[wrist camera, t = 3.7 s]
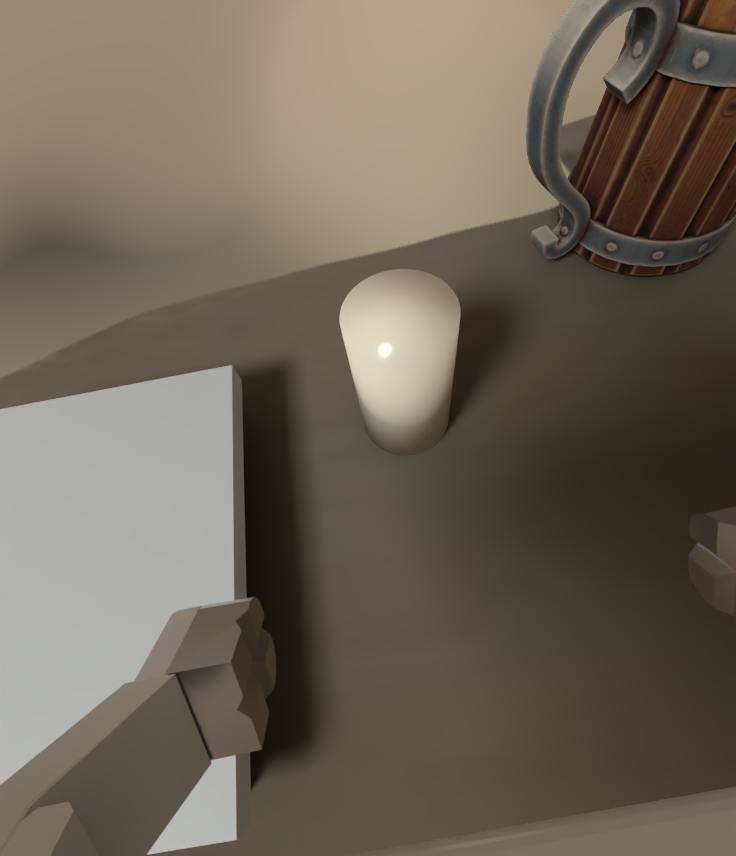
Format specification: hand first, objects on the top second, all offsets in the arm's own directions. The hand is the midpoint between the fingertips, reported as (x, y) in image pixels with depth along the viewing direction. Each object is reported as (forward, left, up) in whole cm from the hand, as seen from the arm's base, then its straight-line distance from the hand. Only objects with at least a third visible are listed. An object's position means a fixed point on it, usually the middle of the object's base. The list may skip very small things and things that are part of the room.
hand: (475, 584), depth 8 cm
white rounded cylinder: (+11, 0, -14) cm, 18 cm away
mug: (+22, -16, -14) cm, 31 cm away
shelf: (+4, +16, -14) cm, 22 cm away
